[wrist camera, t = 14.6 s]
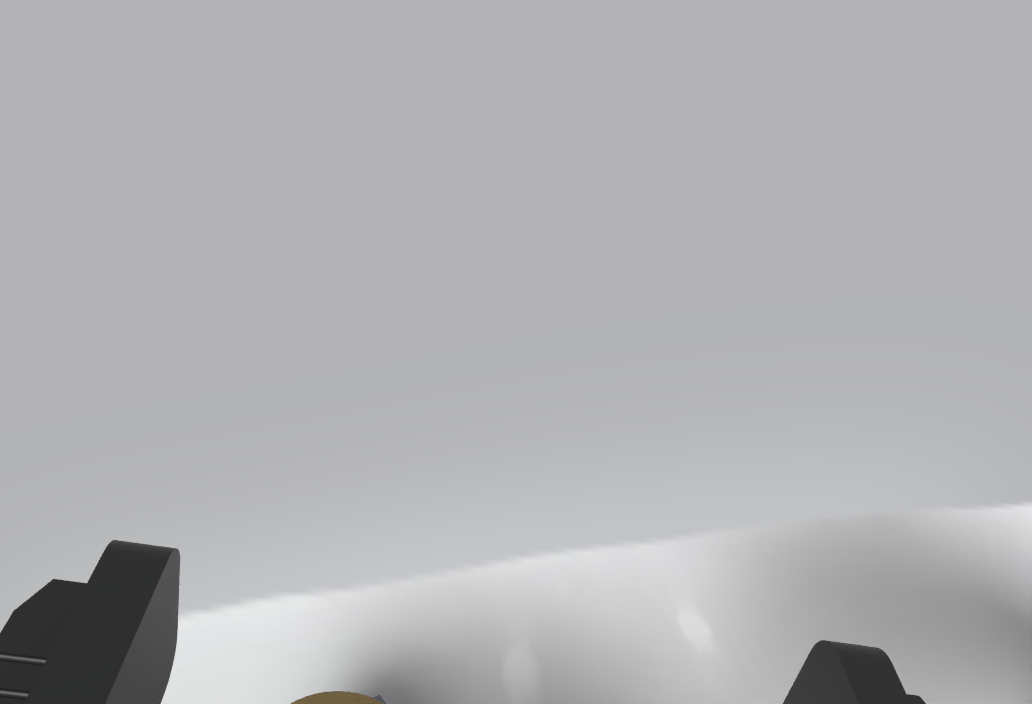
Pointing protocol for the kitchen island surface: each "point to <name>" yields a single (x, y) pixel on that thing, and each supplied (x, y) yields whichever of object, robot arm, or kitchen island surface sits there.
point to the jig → (379, 699)
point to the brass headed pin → (337, 698)
